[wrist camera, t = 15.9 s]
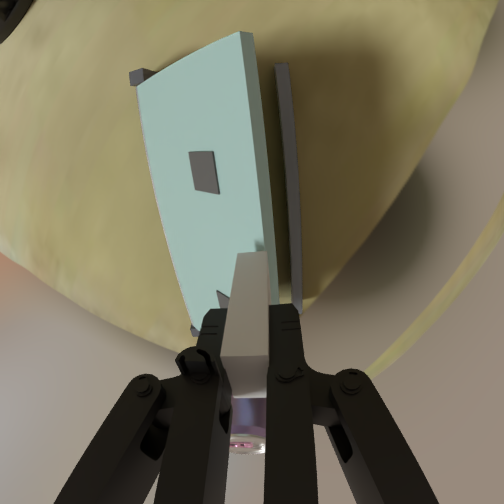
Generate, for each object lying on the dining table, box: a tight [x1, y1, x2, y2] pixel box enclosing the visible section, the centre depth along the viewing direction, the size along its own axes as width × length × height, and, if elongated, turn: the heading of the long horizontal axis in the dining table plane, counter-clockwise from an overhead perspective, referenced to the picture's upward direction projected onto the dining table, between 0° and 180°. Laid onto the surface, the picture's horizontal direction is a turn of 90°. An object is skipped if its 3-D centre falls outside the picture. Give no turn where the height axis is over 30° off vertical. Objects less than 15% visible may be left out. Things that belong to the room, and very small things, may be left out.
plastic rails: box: [129, 63, 302, 337], centre depth 23 cm, size 27×12×4 cm, turn 6°
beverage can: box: [229, 394, 266, 454], centre depth 27 cm, size 6×6×15 cm
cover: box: [136, 31, 280, 331], centre depth 19 cm, size 24×13×1 cm
